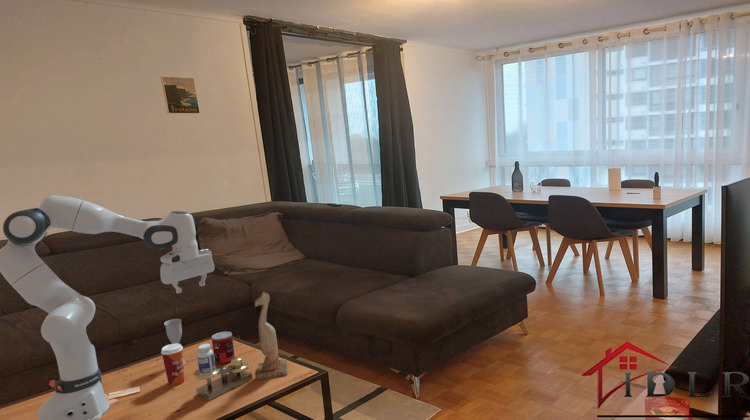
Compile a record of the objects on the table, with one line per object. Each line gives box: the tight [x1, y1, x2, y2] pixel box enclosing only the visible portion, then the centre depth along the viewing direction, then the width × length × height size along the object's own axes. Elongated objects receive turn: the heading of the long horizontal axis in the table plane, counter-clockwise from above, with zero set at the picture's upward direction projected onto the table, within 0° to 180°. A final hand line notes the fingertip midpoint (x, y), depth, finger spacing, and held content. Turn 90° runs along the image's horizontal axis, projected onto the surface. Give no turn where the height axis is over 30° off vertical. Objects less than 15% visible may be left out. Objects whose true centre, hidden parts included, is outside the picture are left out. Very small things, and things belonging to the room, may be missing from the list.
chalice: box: [163, 318, 186, 365], centre depth 199 cm, size 7×7×18 cm
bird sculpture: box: [254, 291, 288, 381], centre depth 184 cm, size 11×12×32 cm
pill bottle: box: [196, 343, 216, 375], centre depth 171 cm, size 5×5×10 cm
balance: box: [195, 356, 253, 401], centre depth 176 cm, size 20×8×8 cm, turn 140°
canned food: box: [211, 331, 236, 365], centre depth 199 cm, size 8×8×11 cm
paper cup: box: [160, 343, 185, 387], centre depth 183 cm, size 8×8×14 cm
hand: (191, 289), depth 184 cm, fingers open, 8 cm apart
